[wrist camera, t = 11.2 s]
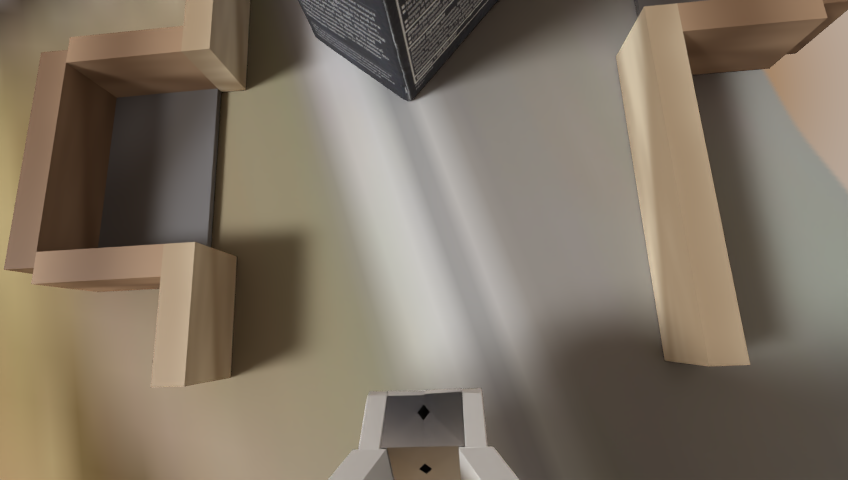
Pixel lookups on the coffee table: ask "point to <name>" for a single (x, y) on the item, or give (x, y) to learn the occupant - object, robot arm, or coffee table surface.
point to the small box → (395, 35)
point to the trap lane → (226, 71)
